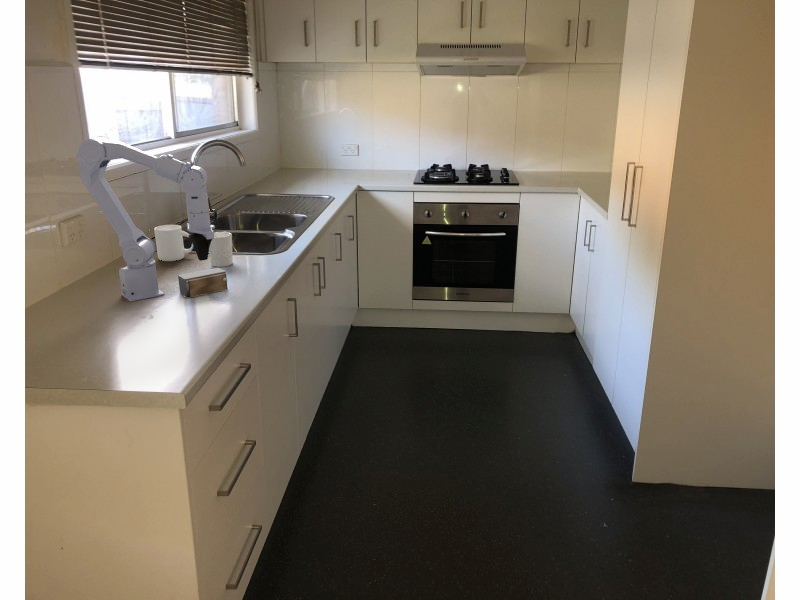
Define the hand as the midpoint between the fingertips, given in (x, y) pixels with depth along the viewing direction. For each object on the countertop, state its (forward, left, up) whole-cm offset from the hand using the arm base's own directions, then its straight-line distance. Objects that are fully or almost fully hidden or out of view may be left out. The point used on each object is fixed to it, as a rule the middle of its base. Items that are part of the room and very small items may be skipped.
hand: (203, 259), depth 178 cm
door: (0, -2, -10) cm, 10 cm away
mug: (+7, +42, -10) cm, 44 cm away
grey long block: (0, +2, -10) cm, 10 cm away
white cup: (+16, +25, -10) cm, 32 cm away
